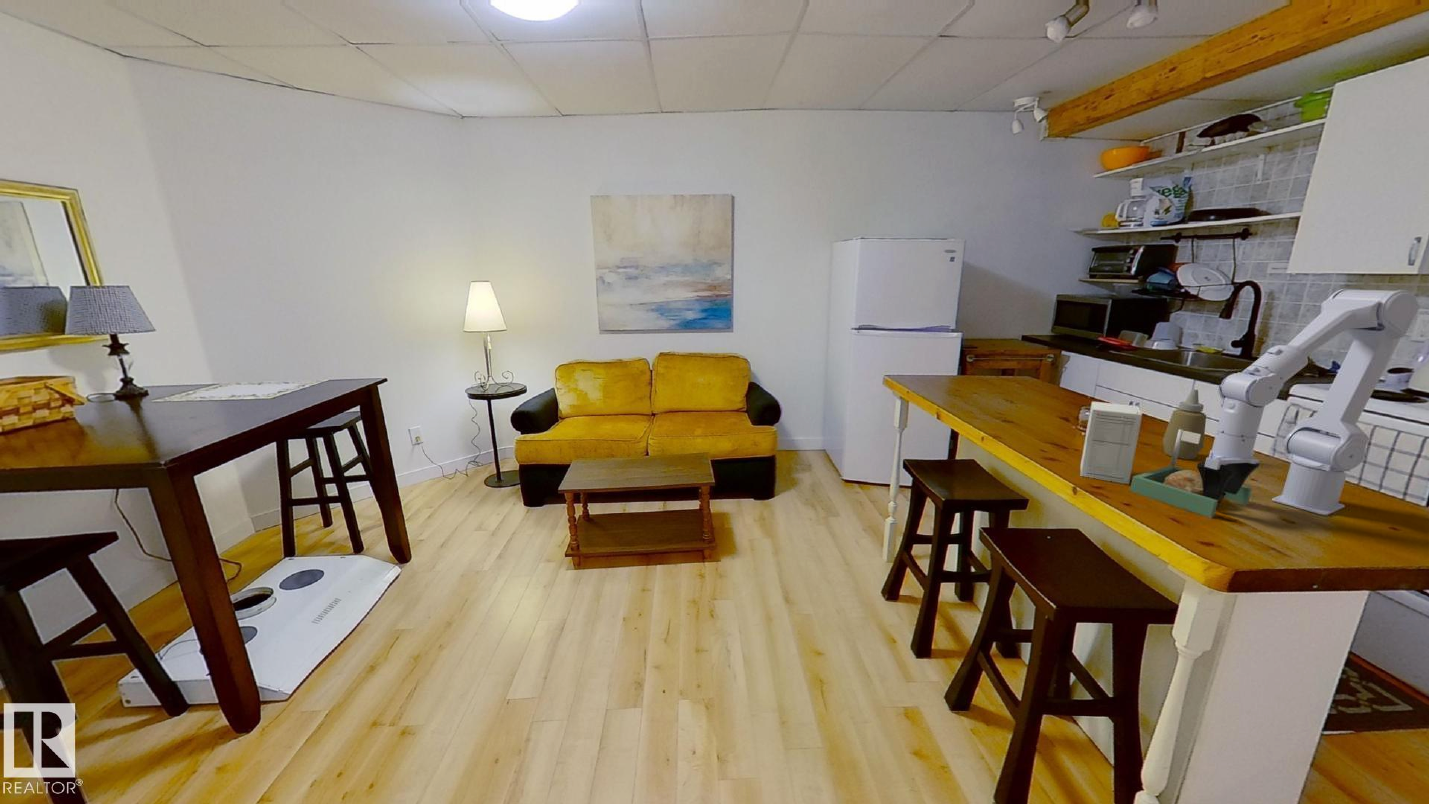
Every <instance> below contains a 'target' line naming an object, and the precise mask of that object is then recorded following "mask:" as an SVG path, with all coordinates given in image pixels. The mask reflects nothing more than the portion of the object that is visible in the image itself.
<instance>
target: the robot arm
mask: <svg viewBox="0 0 1429 804" xmlns="http://www.w3.org/2000/svg"><path fill="white" fill-rule="evenodd" d="M1420 308H1421V306H1420V303H1419V302H1418V300H1417V298H1416V295H1414V293H1413V292H1412V291H1409V290H1408V289H1407V290H1406V289H1403V290H1402V289H1397V290H1382V289H1381V290H1380V289H1378V290H1377V289H1352V288H1342V289H1338V290H1336V291H1335V292H1333V293H1332V294H1331V295H1330V296H1329V297H1328V298H1327V299H1326V300H1324V301H1322V303H1321V307H1320V313H1319V314H1318V315H1317V316H1316V317H1315V318H1314V319H1313V320H1312V321H1311V322H1310V323H1309V324H1308V325H1307V326H1306V327H1305V328H1303V329H1302V331H1300V332H1299V333H1298V334H1297V335H1296V336H1294V338H1293V339H1292V340H1291V341H1290V342H1288V344H1284V345H1282V344H1279V345H1275V346H1273V347H1270V348H1269V349H1268V350H1266V352H1265V353H1264V354H1263V355H1261V356H1260V357H1259V358H1257V360H1255V361H1253V363H1251V364H1250V365H1249V366H1248V367H1246V368H1245V369H1244V370H1243V371H1241V372H1239V371H1238V372H1237V373H1236V372H1235V373H1231V374H1229V375H1228V376H1226V377H1225V378H1224V379H1223V380H1222V381H1221V384H1219V385H1218V387H1217V392H1218V395H1219V397H1220V403H1219V405H1220V407H1221V412H1220V417H1219V420H1218V424H1217V428H1216V431H1215V437H1214V440H1213V444H1212V449H1210V451H1209V455H1208V456H1207V457H1206V458H1205V462H1204V461H1201V462H1198V463H1197V465H1196V469H1197V471H1198V473H1200V475H1201V478H1202V484H1203V495H1204V496H1205V497H1208V498H1211V499H1215V500H1219V499H1220V497H1221V495H1222V493H1223V491H1224V492H1228V493H1231V494H1237V493H1238V491H1239V490H1240V488H1241V487H1242V485H1243V486H1244V483H1245V482H1246V480H1247V479H1248V477H1249V476H1250V475H1251V474H1252V473H1253V472H1254V471H1255V470H1256V469H1257V468H1259V467H1260V463H1259V462H1260V459H1258V458H1256V457H1254V453H1255V449H1254V448H1255V444H1256V440H1257V436H1258V433H1259V430H1260V425H1261V421H1262V417H1263V414H1264V410H1265V407H1266V406H1268V405H1269V404H1271V403H1274V402H1275V400H1276V399H1277V398H1278V396H1279V394H1280V391H1281V390H1282V389H1283V388H1284V387H1283V386H1284V385H1285V384H1284V383H1285V382H1287V381H1288V380H1290V378H1292V377H1293V376H1294V375H1296V374H1297V373H1299V371H1302V369H1303V368H1305V367H1306V366H1307V365H1308V362H1309V361H1308V355H1310V354H1312V353H1313V352H1314V351H1316V350H1317V349H1319V348H1320V347H1322V346H1323V345H1325V344H1326V343H1328V342H1329V341H1331V340H1332V339H1334V338H1335V337H1337V336H1338V335H1341V333H1343V332H1344V333H1348V334H1349V336H1350V337H1351V338H1352V340H1353V342H1352V344H1351V346H1350V348H1349V350H1348V352H1347V353H1346V356H1345V358H1344V360H1343V362H1342V364H1341V365H1340V368H1339V370H1338V372H1337V373H1336V375H1335V378H1334V379H1333V382H1332V383H1331V386H1330V387H1329V390H1328V391H1327V393H1326V395H1325V397H1324V399H1323V402H1322V403H1321V406H1320V408H1319V410H1318V411H1317V413H1316V415H1314V416H1310V417H1307V418H1304V419H1301V420H1298V422H1297V424H1296V426H1295V428H1293V430H1292V431H1291V432H1289V433H1288V434H1287V436H1285V438H1284V441H1283V449H1284V451H1285V453H1286V454H1288V457H1287V459H1288V460H1291V462H1290V465H1289V469H1288V473H1287V476H1286V478H1285V479H1286V480H1285V483H1284V487H1283V490H1282V494H1280V495H1278V496H1275V497H1272V498H1271V501H1272V502H1275V503H1278V504H1279V503H1280V504H1283V505H1287V506H1290V507H1294V508H1297V509H1301V510H1305V511H1307V512H1311V513H1315V514H1318V515H1321V516H1322V515H1323V516H1329V515H1331V514H1332V513H1335V512H1337V511H1339V510H1341V509H1343V508H1345V504H1343V503H1339V502H1340V498H1341V494H1342V491H1343V488H1344V485H1345V482H1346V479H1347V478H1346V477H1347V475H1346V473H1345V472H1351V470H1353V469H1355V468H1357V467H1358V466H1360V465H1361V463H1362V462H1363V460H1364V459H1365V457H1366V447H1367V443H1368V442H1369V440H1370V437H1369V436H1368V435H1367V433H1365V432H1364V431H1363V430H1362V429H1361V428H1360V426H1358V425H1357V423H1358V421H1359V419H1360V417H1361V415H1362V413H1363V411H1364V409H1365V407H1366V405H1367V404H1368V402H1369V399H1370V398H1371V397H1372V394H1373V392H1374V390H1375V388H1376V386H1377V384H1378V383H1379V381H1380V379H1381V377H1382V376H1383V374H1384V371H1385V369H1386V367H1387V365H1388V364H1389V361H1390V360H1391V357H1392V356H1393V354H1394V352H1395V350H1396V348H1397V346H1398V344H1399V343H1400V340H1401V338H1404V337H1405V336H1406V334H1407V333H1408V331H1409V328H1410V327H1411V325H1412V322H1413V321H1414V319H1415V317H1416V315H1417V314H1418V312H1419V309H1420ZM1325 432H1327V433H1325ZM1328 433H1330V434H1328ZM1332 434H1333V435H1332ZM1334 434H1335V435H1334Z"/></svg>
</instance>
